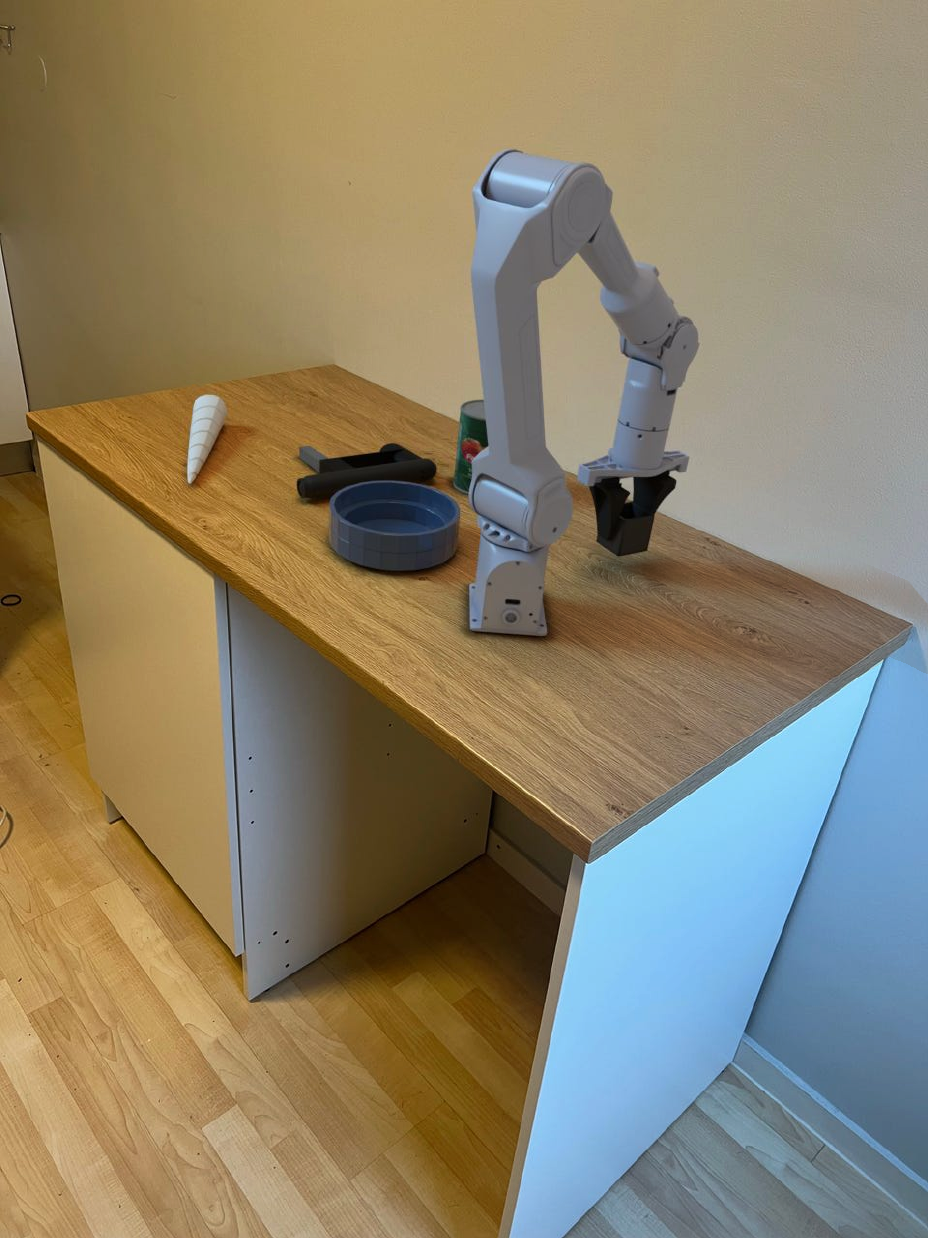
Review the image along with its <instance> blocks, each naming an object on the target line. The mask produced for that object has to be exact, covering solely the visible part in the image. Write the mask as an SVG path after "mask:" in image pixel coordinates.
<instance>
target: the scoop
mask: <svg viewBox="0 0 928 1238" xmlns="http://www.w3.org/2000/svg"><path fill="white" fill-rule="evenodd" d="M655 517H656V514H655V515H653V514H651V513H650V512H648V511H647V510H645V509H643V508H642V507H640V506H639V505H637V504H635V503H634V502H633V500H632V501H626V502H625V503H624V505H623V508H622V510H621V513H620V515H619V519H618V523H617V527H616V531H615V534H614V536H613V538H612V540H609V541H607V540H605V539H604V538H602V537H601V536H600V535H598V534H596V535H597V536H596V541H595V542H596V543H597V544H599V545H600V546H601V547H603V548H605V549H606V550H607V551H608V552H611V553H612V555H614V556H616V557H617V558H619V557H625V556H629V555H634V554H640V553H645V552H648V549H649V545H650V540H651V535H652V530H653V526H654V521H655Z"/></svg>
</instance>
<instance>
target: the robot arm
mask: <svg viewBox="0 0 928 1238" xmlns="http://www.w3.org/2000/svg"><path fill="white" fill-rule="evenodd" d="M471 192H472V193H471V194H472V203H473V212H474V213H473V215H474V225H475V233H476V236H475V240H474V241H475V242H474V248H473V254H472V262H471V268H470V283H471V294H472V301H473V311H474V321H475V329H476V340H477V347H478V348H477V349H478V350H477V351H478V358H479V367H480V368H479V369H480V377H481V378H480V379H481V386H482V397H483V400H484V407H485V417H486V426H487V436H488V445H489V446H488V447H486V448H485V449H484V450H482V451H481V452H480V453H479V454H478V455H477V456H476V457H475V458H474V459H473V460H472V462H471V463H472V480H471V484H470V488H469V494H468V497H467V498H468V504H469V507H470V509H471V511H472V512H473V513H474V514H476V515H477V519H476V525H477V526H478V527H479V528H480V539H479V545H478V546H479V547H478V556H477V563H476V564H477V566H476V574H475V581H474V582H472V583H470V584H468V585H469V587H468V599H469V600H468V602H469V630H471V631H473V632H483V633H494V634H495V633H496V634H509V635H510V634H511V635H524V636H536V637H545V636H547V635H548V627H547V621H546V615H545V607H544V601H543V599H544V592H545V585H546V584H545V583H546V581H545V577H546V571H547V564H548V557H549V551H550V546H551V545H553V544H554V543H556V542H557V541H558V540H559V539H561V537H562V536H564V533H565V532H566V531H567V529H568V528H569V526H570V523H571V521H572V518H573V514H574V513H573V512H574V500H573V496H572V493H571V492H570V491H569V489H568V487H567V483H566V472H565V470H564V469H563V468H562V466H561V465H560V464H559V462H558V461H557V460H556V459H555V457H554V456H553V455H552V453H551V451H549V449H548V448H547V442H546V427H545V425H546V423H545V409H544V408H545V407H544V406H545V405H544V391H543V373H542V357H541V337H540V326H539V325H540V324H539V323H540V322H539V306H538V288H539V286H540V285H541V283H542V282H544V281H547V280H550V279H553V278H555V277H556V276H557V275H558V273H559V272H561V270H562V269H563V268H564V267H565V266H566V265H567V264H568V263H569V262H570V261H571V260H572V259H573V258H574V257H575V256H576V254H578V256H579V257H580V258H581V259H582V261H584V263H585V264H586V265H587V267H588V268H589V269H590V270H591V271H592V273H593V275H595V277H596V278H597V279H598V280H599V282H600V283H601V284H602V285H601V287H600V292H599V300H600V303H601V306H602V307H603V308H604V310H605V311H606V313H607V314H608V316H609V317H610V319H611V320H612V322H613V324H615V326H616V327H617V331H618V333H619V350H620V354H621V355H624V356H625V357H626V358H628V362H627V365H626V372H625V378H624V383H623V387H622V394H621V399H620V405H619V410H618V416H617V421H616V426H615V432H614V437H613V443H612V447H610V448H609V449H608V451H607V454H605V455H604V456H601V457H599V458H597V459H594V460H591V461H588V462H585V463H579V465H578V472H577V476H576V481H578V482H579V483H580V484H581V485H584V486H585V487H587V488H589V489H588V490H589V491H590V494H591V499H592V501H593V506H594V511H595V517H596V519H595V521H596V530H597V531H596V533H597V534H596V535H600V536H601V537H602V538H604V539H605V540H607V541H609V540H612V538H613V536H614V534H615V531H616V527H617V523H618V519H619V515H620V513H621V510H622V508H623V505H624V503H625V502H627V500H628V498H629V497H630V495H631V492H630V491H629V490H627V489H626V488H625V487H622V486H623V483H622V482H621V480H623V479H630V478H632V480H633V481H632V482H633V483H632V484H633V493H632V494H633V496H632V502H634V503H635V504H637V505H639V506H640V507H642V508H643V509H645V510H647V511H648V512H650V513H651V514H653V515H655V516H656V513H657V511H658V510H659V508H660V507H661V506H662V504H663V502H664V501H665V500H666V499H667V497H668V496H669V495H670V494H671V493H672V492H673V491H674V490H675V489H676V486H677V482H678V481H677V479H676V478H675V477H673V476H671V475H670V473H671V472H677V473H686V472H687V469H688V466H689V460H690V456H689V455H688V454H686V453H684V452H682V451H680V450H669V451H668V450H666V449H665V448H666V444H667V439H668V435H669V431H670V426H671V421H672V417H673V411H674V408H675V404H676V403H675V402H676V398H677V393H678V390H679V388H681V387H682V386H683V384H684V382H686V376H687V373H688V370H689V367H690V366H691V364H692V362H693V361H694V359H695V358H696V355H697V353H698V350H699V347H700V342H699V332H698V329H697V327H696V326H695V325H694V322H693V320H692V319H691V318H690V317H688V316H685V315H681V314H679V312H678V310H677V309H676V307H675V302H674V300H673V298H672V297H671V296H669V295H668V292H666V290H665V288H664V286H663V284H662V283H661V281H660V279H659V276H660V271H659V270H658V268H657V266H656V265H652V264H648V263H645V262H644V261H634V257H633V256H632V254H631V252H630V250H629V247H628V246H627V243H626V241H625V239H624V237H623V235H622V233H621V231H620V229H619V226H618V225H617V222H616V220H615V218H614V216H613V214H612V212H611V209H612V202H613V196H614V193H613V190H612V189H611V187H610V186H609V185H608V184H607V183H606V181H605V178H604V175H603V173H602V171H601V170H600V169H599V167H598V166H597V165H594V164H593V163H591V162H586V161H581V162H574V161H569V160H564V159H558V158H553V157H548V156H543V155H537V154H531V153H527V152H526V153H524V151H522V150H518V149H516V148H506V149H503V150H501V151H498V152H497V153H496V154H495V155H493V157H492V158H491V159H490V160H489V162H488V163H487V164H486V166H485V168H484V170H482V173H481V175H480V176H479V178H478V180H477V181H476V183H475V185H474V186H473V188H472V190H471ZM665 450H666V451H665Z"/></svg>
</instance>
